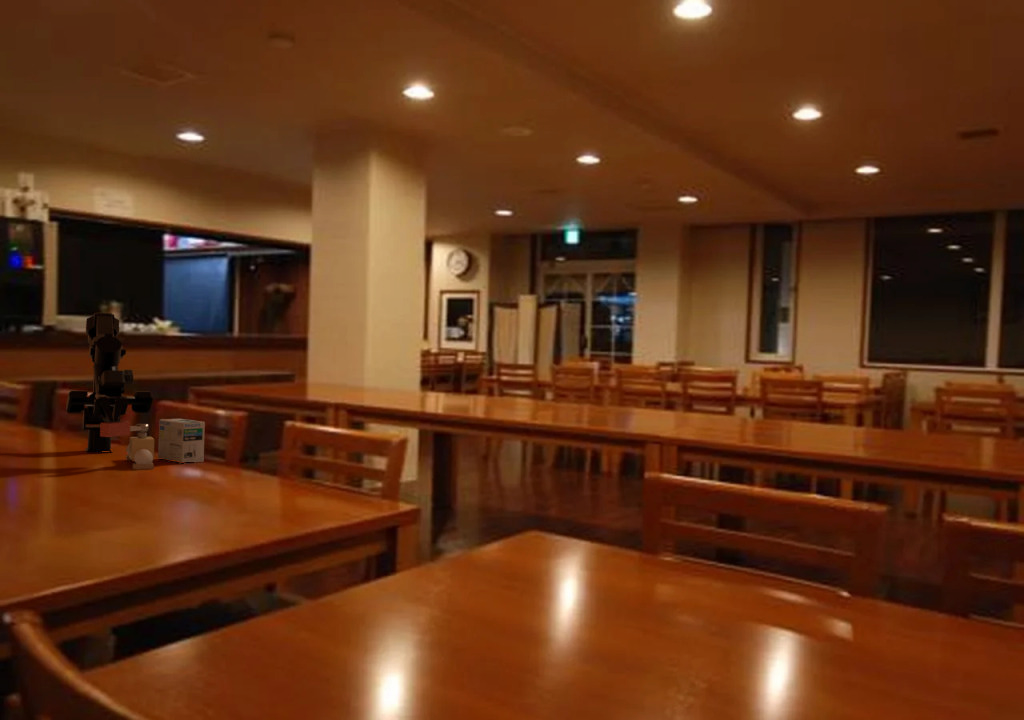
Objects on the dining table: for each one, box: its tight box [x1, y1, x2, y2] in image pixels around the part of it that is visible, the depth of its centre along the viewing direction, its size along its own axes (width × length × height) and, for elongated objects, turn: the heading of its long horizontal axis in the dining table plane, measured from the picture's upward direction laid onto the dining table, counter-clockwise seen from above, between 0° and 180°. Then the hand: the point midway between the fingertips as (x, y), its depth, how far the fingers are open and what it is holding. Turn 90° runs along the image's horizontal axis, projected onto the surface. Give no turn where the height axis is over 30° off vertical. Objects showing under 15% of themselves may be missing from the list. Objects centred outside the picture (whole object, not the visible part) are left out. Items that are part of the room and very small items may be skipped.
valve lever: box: [99, 420, 150, 438], centre depth 198 cm, size 3×13×3 cm, turn 159°
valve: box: [125, 431, 155, 470], centre depth 205 cm, size 17×5×8 cm, turn 32°
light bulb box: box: [157, 418, 206, 463], centre depth 214 cm, size 11×7×11 cm, turn 58°
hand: (113, 428), depth 196 cm, fingers closed
